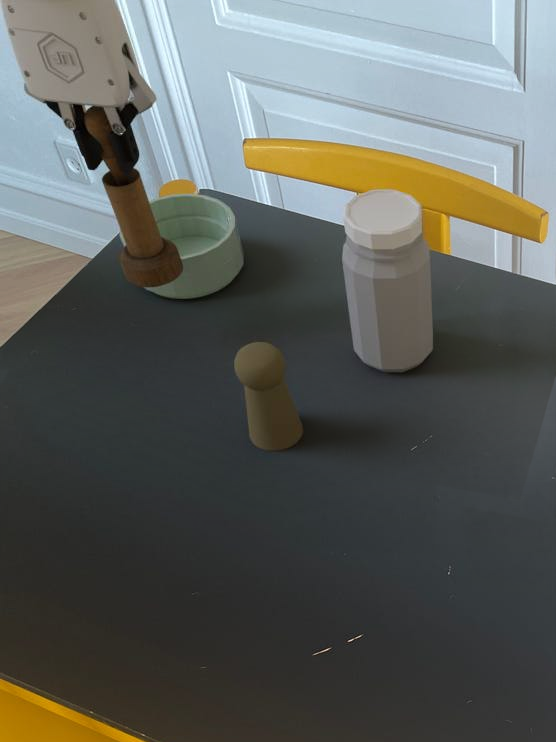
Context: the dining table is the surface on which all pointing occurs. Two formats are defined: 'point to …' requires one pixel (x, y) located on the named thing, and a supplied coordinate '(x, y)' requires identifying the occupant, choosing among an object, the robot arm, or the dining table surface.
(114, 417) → the dining table surface
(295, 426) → the board game pawn
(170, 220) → the bowl
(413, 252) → the jar
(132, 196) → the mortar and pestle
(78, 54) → the robot arm
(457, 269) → the dining table surface
